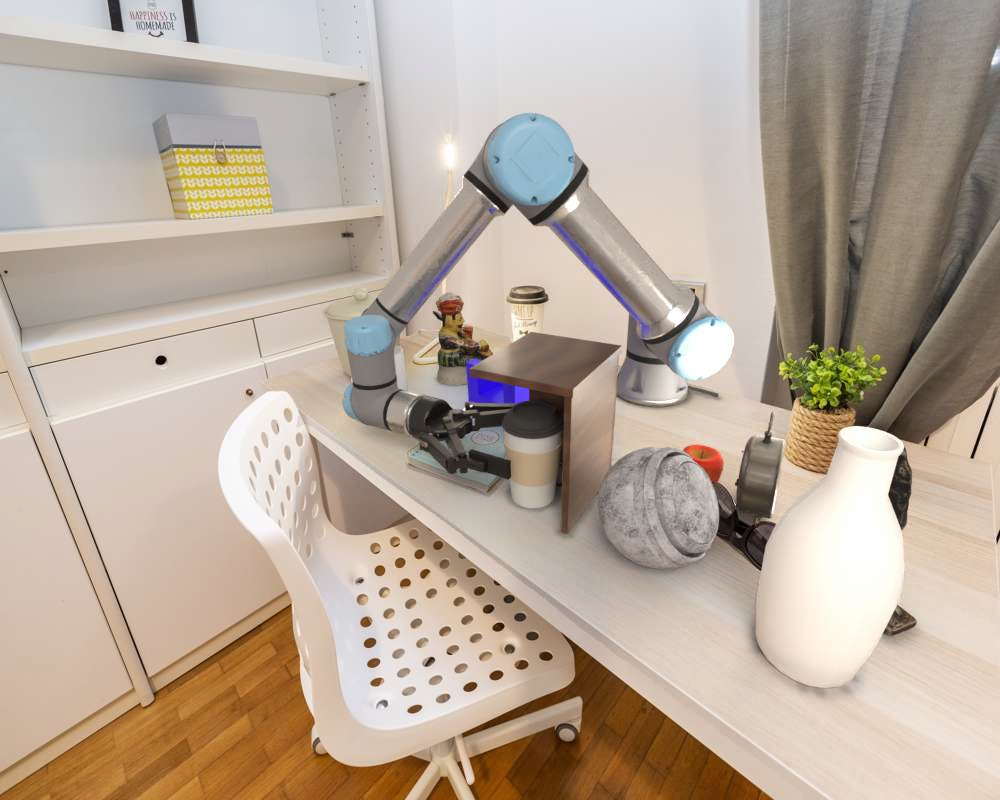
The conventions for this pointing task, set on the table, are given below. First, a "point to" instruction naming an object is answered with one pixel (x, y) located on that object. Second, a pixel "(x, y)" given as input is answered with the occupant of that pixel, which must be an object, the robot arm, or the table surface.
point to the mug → (399, 368)
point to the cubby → (567, 404)
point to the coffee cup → (533, 451)
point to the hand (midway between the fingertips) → (533, 448)
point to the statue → (900, 503)
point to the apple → (707, 460)
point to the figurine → (456, 342)
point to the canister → (341, 314)
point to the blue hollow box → (493, 390)
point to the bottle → (834, 566)
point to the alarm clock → (760, 474)
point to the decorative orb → (659, 508)
